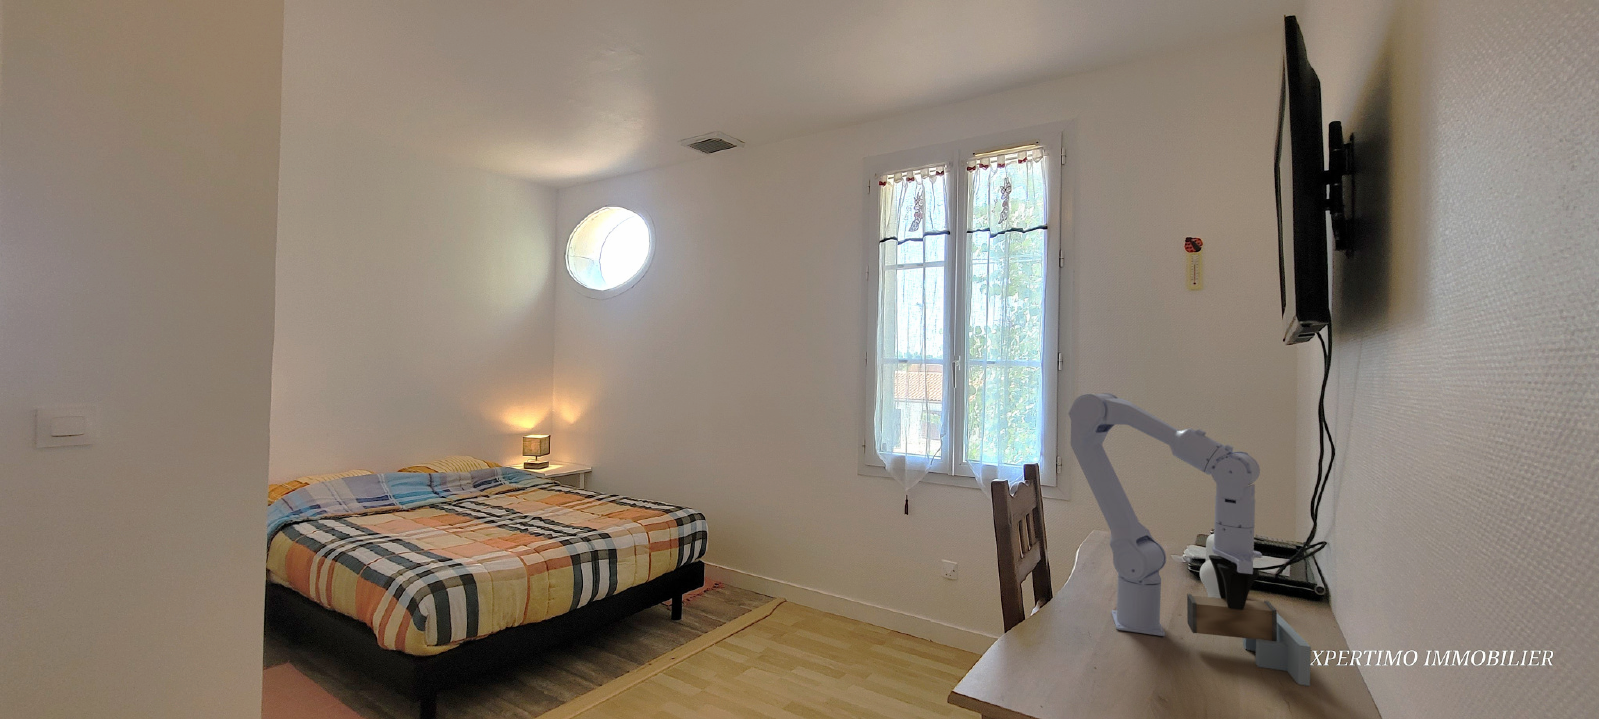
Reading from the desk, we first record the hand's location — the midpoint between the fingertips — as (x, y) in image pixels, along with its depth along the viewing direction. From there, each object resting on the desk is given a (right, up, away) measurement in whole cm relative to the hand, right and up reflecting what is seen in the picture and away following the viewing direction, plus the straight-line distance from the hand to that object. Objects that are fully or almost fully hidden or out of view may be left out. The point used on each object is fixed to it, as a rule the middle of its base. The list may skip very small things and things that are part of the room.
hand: (1231, 604), depth 116 cm
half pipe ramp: (0, -5, 0) cm, 5 cm away
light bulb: (+9, -9, +18) cm, 22 cm away
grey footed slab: (+5, -9, -2) cm, 10 cm away
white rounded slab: (+19, -9, +32) cm, 39 cm away
